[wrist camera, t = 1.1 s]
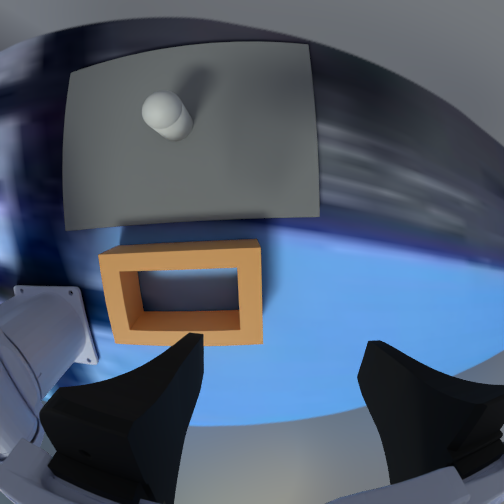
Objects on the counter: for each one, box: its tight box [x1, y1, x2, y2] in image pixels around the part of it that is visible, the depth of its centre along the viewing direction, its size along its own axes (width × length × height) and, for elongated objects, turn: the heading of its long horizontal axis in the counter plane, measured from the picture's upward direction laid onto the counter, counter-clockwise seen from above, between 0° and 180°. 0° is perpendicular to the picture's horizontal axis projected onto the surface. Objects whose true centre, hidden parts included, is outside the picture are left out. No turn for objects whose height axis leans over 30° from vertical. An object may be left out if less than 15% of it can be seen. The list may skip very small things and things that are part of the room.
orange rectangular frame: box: [98, 239, 263, 346], centre depth 19 cm, size 11×7×4 cm, turn 92°
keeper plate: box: [62, 42, 319, 231], centre depth 16 cm, size 20×14×6 cm
